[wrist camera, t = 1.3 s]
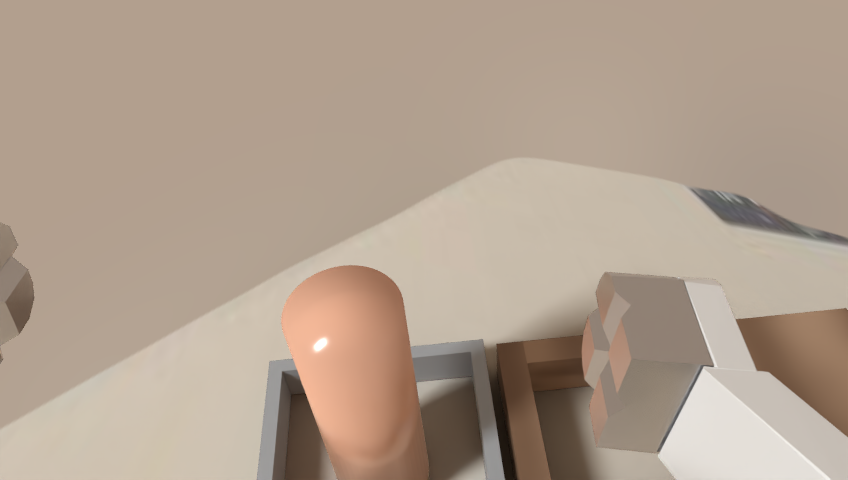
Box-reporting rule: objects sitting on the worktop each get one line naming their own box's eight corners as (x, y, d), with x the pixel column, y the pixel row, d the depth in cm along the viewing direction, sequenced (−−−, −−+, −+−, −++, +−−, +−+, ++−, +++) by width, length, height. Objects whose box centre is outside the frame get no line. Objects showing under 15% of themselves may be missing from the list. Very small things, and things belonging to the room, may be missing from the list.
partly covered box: (828, 339, 42) (846, 308, 40) (935, 521, 34) (964, 494, 32) (497, 373, 42) (496, 344, 40) (528, 561, 34) (529, 537, 32)
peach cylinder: (426, 425, 40) (400, 259, 30) (432, 511, 37) (406, 355, 27) (339, 434, 40) (285, 271, 30) (337, 520, 37) (276, 368, 27)
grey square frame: (483, 363, 43) (482, 339, 41) (516, 580, 34) (517, 560, 32) (279, 384, 43) (269, 361, 41) (258, 605, 34) (245, 587, 32)
